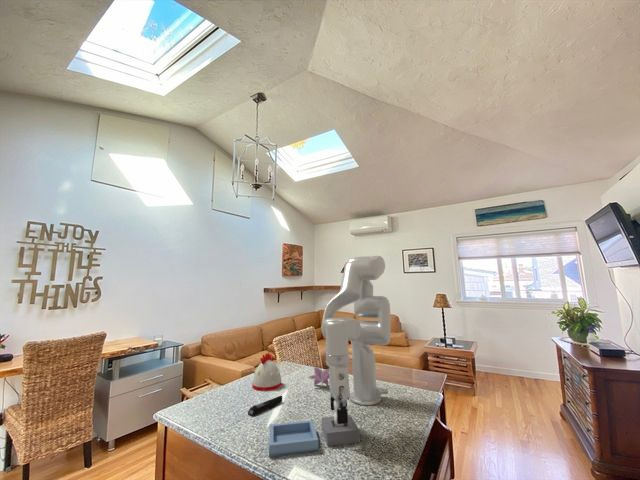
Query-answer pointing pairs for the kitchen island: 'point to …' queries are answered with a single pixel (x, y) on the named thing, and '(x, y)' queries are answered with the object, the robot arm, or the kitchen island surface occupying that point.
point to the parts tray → (292, 438)
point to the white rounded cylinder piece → (336, 415)
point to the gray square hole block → (339, 432)
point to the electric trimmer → (264, 406)
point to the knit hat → (266, 375)
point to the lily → (320, 376)
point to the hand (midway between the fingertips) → (338, 416)
